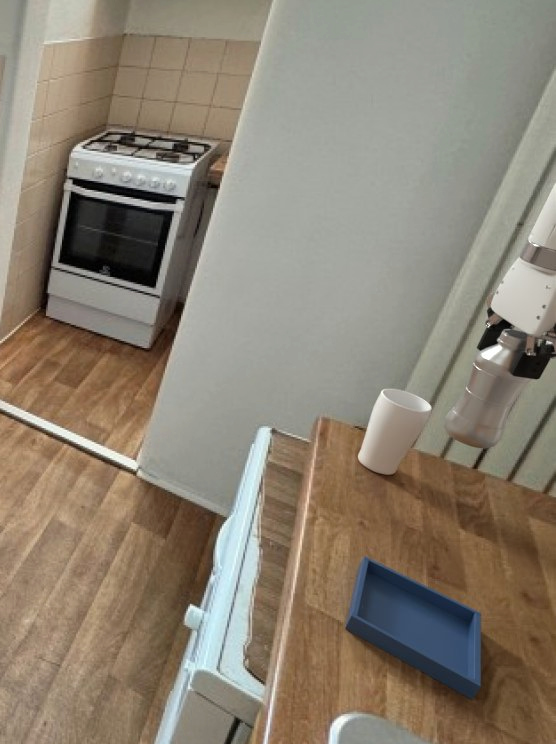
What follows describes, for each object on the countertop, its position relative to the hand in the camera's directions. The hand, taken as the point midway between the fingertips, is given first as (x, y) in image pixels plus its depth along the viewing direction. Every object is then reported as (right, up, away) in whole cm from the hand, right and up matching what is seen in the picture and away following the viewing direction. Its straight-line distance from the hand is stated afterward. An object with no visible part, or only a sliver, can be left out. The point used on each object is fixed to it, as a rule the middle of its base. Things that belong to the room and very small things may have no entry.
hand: (506, 362), depth 93 cm
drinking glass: (-3, -24, +19) cm, 30 cm away
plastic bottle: (0, -14, +6) cm, 15 cm away
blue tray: (-25, -34, -10) cm, 44 cm away
